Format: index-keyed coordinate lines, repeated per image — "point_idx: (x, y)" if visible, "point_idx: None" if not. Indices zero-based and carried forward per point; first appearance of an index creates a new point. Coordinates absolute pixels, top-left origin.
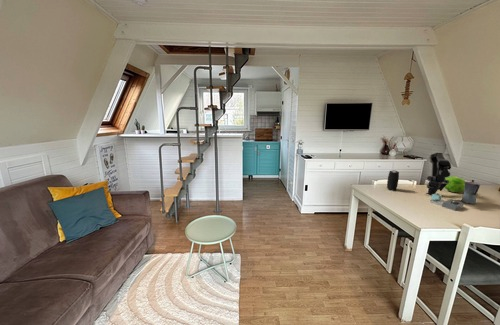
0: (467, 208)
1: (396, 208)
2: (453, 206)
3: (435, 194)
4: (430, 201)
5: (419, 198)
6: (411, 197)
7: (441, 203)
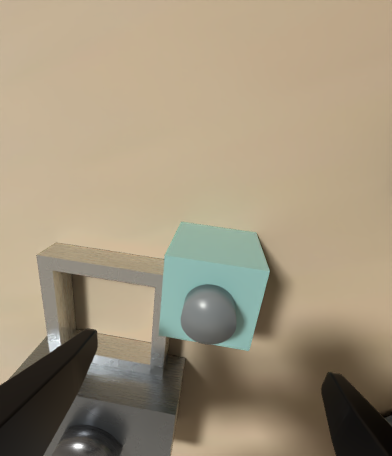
0: (198, 438)
1: None
2: None
3: (190, 293)
4: (48, 251)
5: (82, 113)
6: (8, 13)
7: (50, 342)
